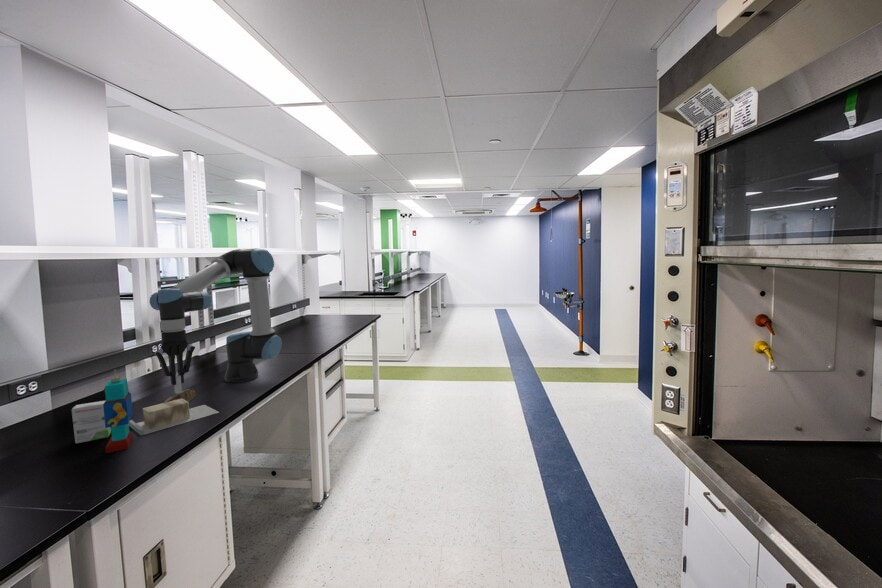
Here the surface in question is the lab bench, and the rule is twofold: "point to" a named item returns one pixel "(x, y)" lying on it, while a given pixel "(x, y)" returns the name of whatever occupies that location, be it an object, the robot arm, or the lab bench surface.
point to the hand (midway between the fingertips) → (178, 392)
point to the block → (166, 413)
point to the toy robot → (118, 413)
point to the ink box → (89, 422)
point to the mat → (194, 414)
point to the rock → (182, 396)
